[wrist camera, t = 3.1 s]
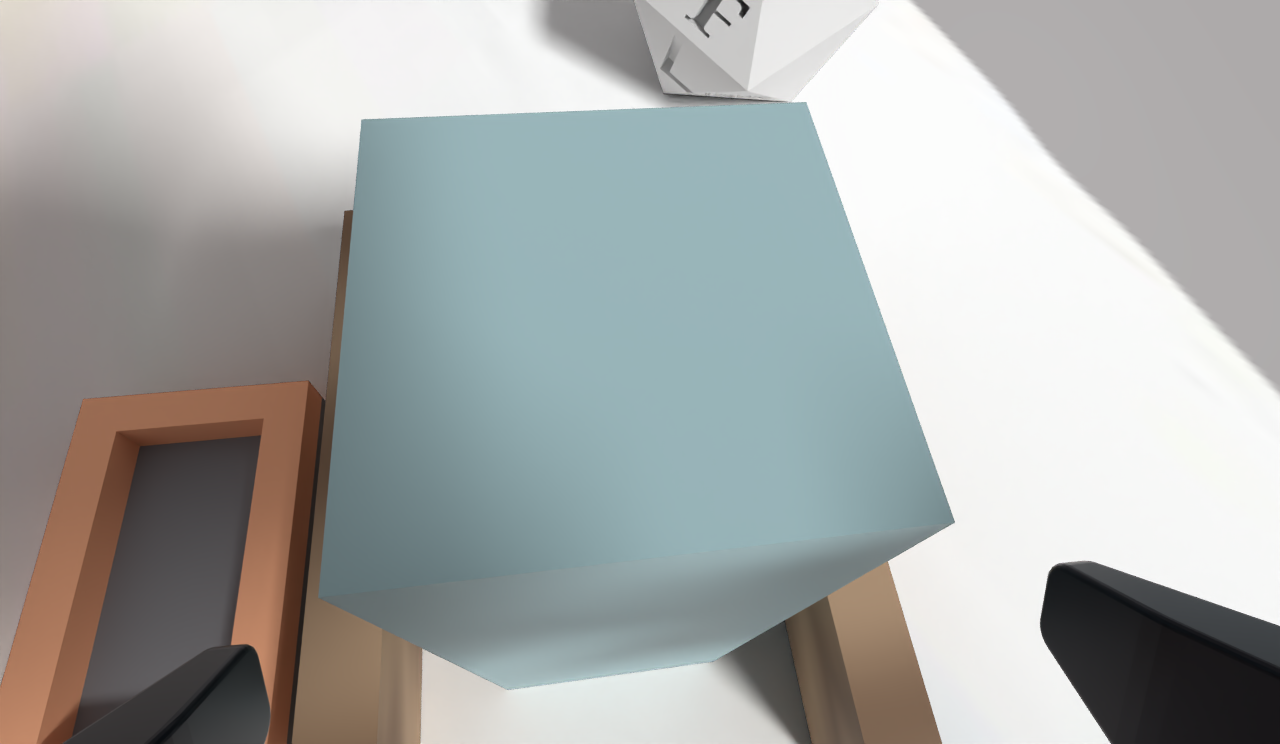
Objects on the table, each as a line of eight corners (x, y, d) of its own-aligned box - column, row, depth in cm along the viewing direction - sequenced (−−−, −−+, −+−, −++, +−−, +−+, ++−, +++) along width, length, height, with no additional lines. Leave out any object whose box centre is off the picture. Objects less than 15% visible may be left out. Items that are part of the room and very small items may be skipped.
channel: (877, 755, 16) (947, 761, 13) (346, 840, 14) (279, 870, 11) (750, 262, 22) (776, 187, 19) (380, 286, 21) (344, 210, 18)
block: (712, 661, 16) (955, 523, 5) (507, 689, 16) (318, 598, 5) (680, 470, 19) (805, 102, 8) (501, 488, 18) (361, 119, 7)
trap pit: (292, 769, 15) (263, 772, 14) (21, 808, 14) (-37, 816, 13) (328, 405, 19) (308, 380, 18) (119, 422, 18) (83, 399, 17)
